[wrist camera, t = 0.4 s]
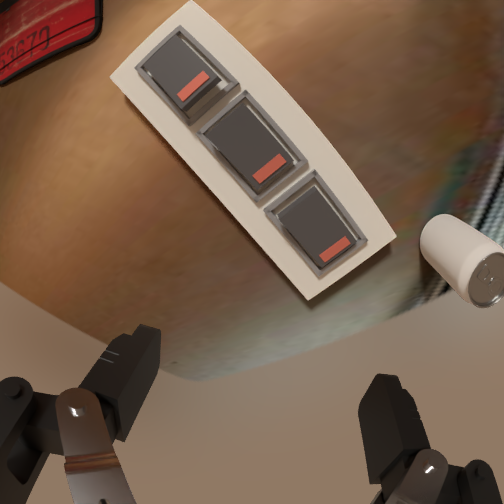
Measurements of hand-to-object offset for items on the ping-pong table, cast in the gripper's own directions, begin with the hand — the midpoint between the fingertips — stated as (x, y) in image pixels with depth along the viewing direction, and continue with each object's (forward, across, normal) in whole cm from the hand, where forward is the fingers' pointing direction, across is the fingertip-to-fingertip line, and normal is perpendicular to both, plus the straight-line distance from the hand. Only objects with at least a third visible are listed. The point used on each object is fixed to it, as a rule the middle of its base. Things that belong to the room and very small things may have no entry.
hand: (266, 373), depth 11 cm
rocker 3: (+21, -4, 0) cm, 21 cm away
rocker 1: (+21, +12, -12) cm, 27 cm away
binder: (+26, +37, -22) cm, 51 cm away
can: (+26, -20, -1) cm, 33 cm away
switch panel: (+26, +4, -6) cm, 27 cm away
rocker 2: (+21, +4, -6) cm, 22 cm away
